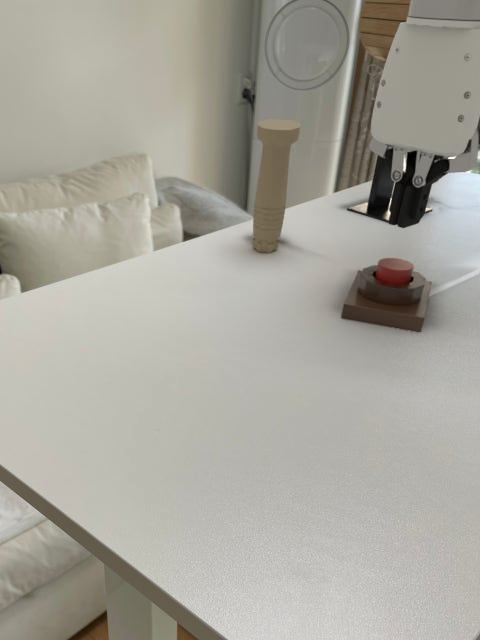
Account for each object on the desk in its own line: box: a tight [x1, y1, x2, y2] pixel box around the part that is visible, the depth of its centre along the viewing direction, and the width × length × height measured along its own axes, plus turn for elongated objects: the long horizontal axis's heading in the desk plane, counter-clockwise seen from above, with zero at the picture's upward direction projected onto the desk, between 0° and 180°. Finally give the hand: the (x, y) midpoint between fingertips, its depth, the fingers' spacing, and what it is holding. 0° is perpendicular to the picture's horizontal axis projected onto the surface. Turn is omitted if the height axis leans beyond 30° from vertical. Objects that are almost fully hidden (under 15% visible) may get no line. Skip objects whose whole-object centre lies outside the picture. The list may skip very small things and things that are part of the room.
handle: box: [252, 118, 301, 254], centre depth 80 cm, size 5×6×15 cm
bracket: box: [346, 152, 433, 224], centre depth 93 cm, size 10×8×12 cm
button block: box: [340, 264, 432, 333], centre depth 69 cm, size 10×8×4 cm
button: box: [375, 257, 415, 285], centre depth 68 cm, size 4×4×2 cm
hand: (403, 223), depth 65 cm, fingers closed
